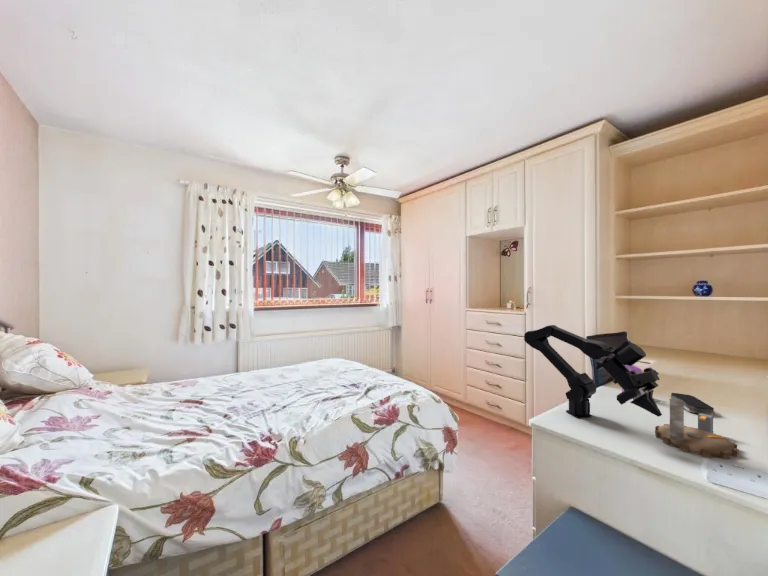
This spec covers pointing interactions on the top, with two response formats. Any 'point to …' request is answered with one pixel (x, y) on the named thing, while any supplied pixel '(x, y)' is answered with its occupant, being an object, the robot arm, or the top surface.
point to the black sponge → (694, 404)
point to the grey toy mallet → (705, 422)
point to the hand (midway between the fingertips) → (660, 415)
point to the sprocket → (693, 436)
